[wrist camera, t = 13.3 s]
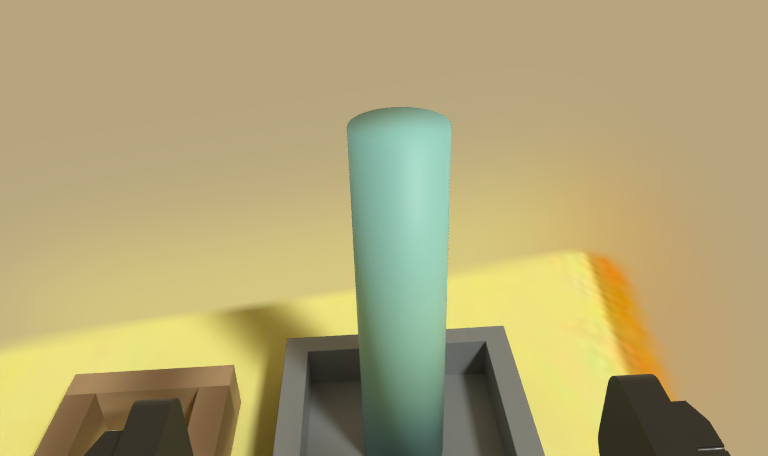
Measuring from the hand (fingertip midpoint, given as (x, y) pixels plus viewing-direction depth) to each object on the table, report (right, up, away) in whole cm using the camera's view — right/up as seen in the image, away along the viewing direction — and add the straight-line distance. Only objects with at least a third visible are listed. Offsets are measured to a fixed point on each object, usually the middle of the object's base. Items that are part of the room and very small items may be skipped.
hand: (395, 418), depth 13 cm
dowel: (+1, -5, +15) cm, 16 cm away
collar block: (-10, -6, +15) cm, 20 cm away
